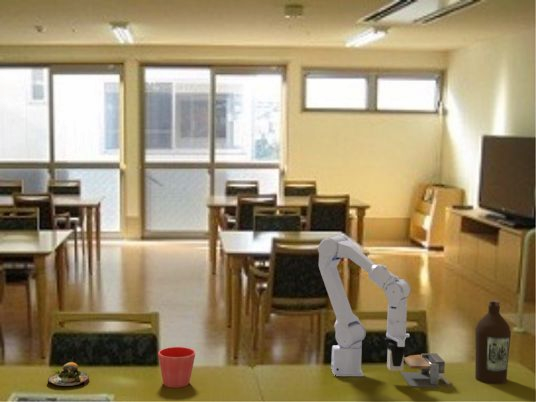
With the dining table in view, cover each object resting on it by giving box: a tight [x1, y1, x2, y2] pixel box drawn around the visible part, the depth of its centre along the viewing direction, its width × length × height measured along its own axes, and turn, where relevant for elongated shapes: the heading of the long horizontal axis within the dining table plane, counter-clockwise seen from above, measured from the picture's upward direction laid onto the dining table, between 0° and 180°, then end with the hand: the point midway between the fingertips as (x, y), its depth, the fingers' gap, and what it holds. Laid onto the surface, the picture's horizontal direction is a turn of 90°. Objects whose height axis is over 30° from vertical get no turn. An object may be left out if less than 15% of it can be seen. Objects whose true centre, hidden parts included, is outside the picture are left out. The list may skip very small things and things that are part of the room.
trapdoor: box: [404, 352, 446, 374], centre depth 217 cm, size 10×9×4 cm
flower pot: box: [157, 346, 196, 388], centre depth 209 cm, size 11×11×10 cm
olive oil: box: [474, 299, 512, 385], centre depth 219 cm, size 11×11×25 cm
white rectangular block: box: [386, 348, 405, 372], centre depth 213 cm, size 4×4×6 cm
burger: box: [47, 356, 90, 387], centre depth 208 cm, size 12×12×8 cm
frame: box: [420, 353, 451, 388], centre depth 217 cm, size 6×12×7 cm, turn 2°
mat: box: [400, 371, 440, 388], centre depth 217 cm, size 9×13×1 cm
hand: (395, 363), depth 213 cm, fingers closed on white rectangular block, 4 cm apart
